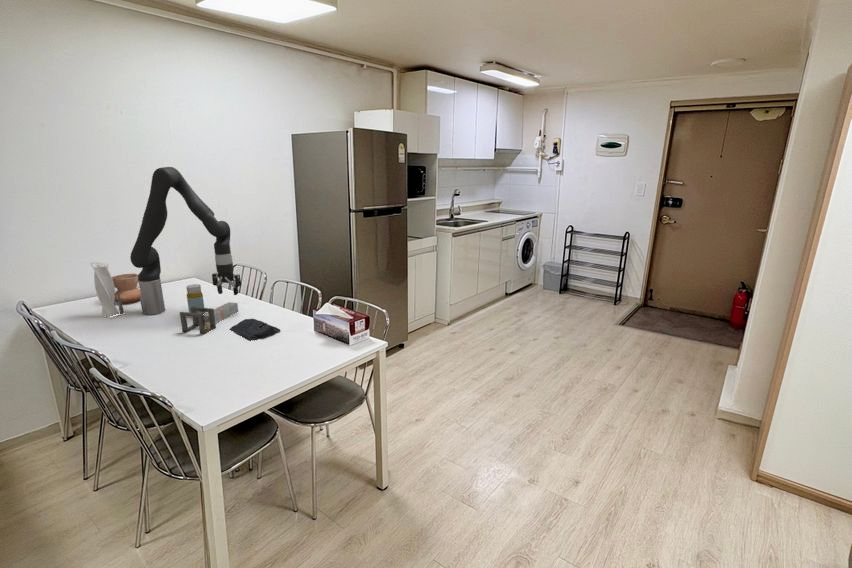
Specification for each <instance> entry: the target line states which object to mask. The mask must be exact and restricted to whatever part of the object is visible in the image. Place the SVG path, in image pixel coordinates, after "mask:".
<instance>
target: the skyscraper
mask: <svg viewBox="0 0 852 568" xmlns="http://www.w3.org/2000/svg"><path fill="white" fill-rule="evenodd" d="M89 264H90V266H91V267H92V269H93V273H94V276H93V277H94V278H93V279H94V280H93V281H94V288H95V292H96V295H97V298H98V301H99V302H100V305H101V307H102V308H101V316H106V317H105V318H107V317H110V316H113V315H116V314H119V312H120V314H123V313H125V311H124V306H123V303H122V301H121V298H120V295H119V292H118V302H117V303H118V308H117V307H116V304H115V301H114V300H115V293H116V292H117V291H118V289H117V290H116V289H115V287H114V282H113V279H112V277H113V276H112V274H111V272H110V271H109V269H108V268H109V263H107V262H98V261H97V262H96V261H94V262H90V263H89ZM93 264H94V265H93ZM118 310H119V311H118ZM123 315H124V314H123Z"/></svg>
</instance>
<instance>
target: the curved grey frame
mask: <svg viewBox="0 0 852 568" xmlns="http://www.w3.org/2000/svg"><path fill="white" fill-rule="evenodd" d="M197 311H201V312H205V313H209V321H210V323H205V324H204V317H203V314H200V313H197ZM179 317H180V325H181V331H182V333H183V332H184V333H183V334H186V333H189V332H191V331H192V330H195V329H197V328H198V330H199V335H202V334H204V335H206V334H208V333H210V332H212V331H213V330H216V329H217V324H216V323H215V316H214V308H211V307H209V308H208V307H204V308H201V307H191V313H190V312H189V311H187V312H186V311H180V312H179ZM187 317H188V318H189V317H190V318H191V319H192V325H190V326H188V322H187V321H188V320H187ZM198 326H199V327H198ZM196 327H197V328H196ZM211 330H212V331H211ZM209 331H210V332H209ZM207 332H208V333H207Z"/></svg>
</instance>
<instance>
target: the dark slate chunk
mask: <svg viewBox="0 0 852 568" xmlns="http://www.w3.org/2000/svg"><path fill="white" fill-rule="evenodd" d="M230 330H231V331H230ZM229 331H230V332H232V331H233V332H232V333H234V334H235V335H238V336H239V337H241V336H242V337H241V338H243V339H244V340H246V341H248V342H251V340H252V341H253V340H254V342H255V340H256V341H259V340H261V339H266V338H269V337H272V336H274V335H276V334H278V333H280V332H281V329H280V328H279V327H276V326H273V325H270V324H268V323H266V322H264V321H262V320H258V319H255V318H246V319H243V320H241V321H239V322H238V323H237V324H235V325H233V326H231V327H230V328H229ZM258 339H259V340H258Z"/></svg>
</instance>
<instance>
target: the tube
mask: <svg viewBox="0 0 852 568" xmlns="http://www.w3.org/2000/svg"><path fill="white" fill-rule="evenodd" d="M213 309H214V308H213ZM237 312H238V313H239V305H238V302H231V301H230V302H226V303H224V304H222V305H220V306H218V307H216V308H215V309H214V316H215V323H216V325H218V324H220V323H221V322H223V321H225V320H227V319H228V317H229V318H230V316H231V315H232V316H234V315H236V314H238V313H237ZM235 313H236V314H235ZM233 314H234V315H233ZM232 316H231V317H232ZM203 317H204V324H205V323H210V321H209V313H208V312H205V313H204V315H203ZM226 318H227V319H226ZM224 319H225V320H224ZM222 320H223V321H222ZM220 321H221V322H220ZM219 322H220V323H219ZM217 323H218V324H217Z"/></svg>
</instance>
